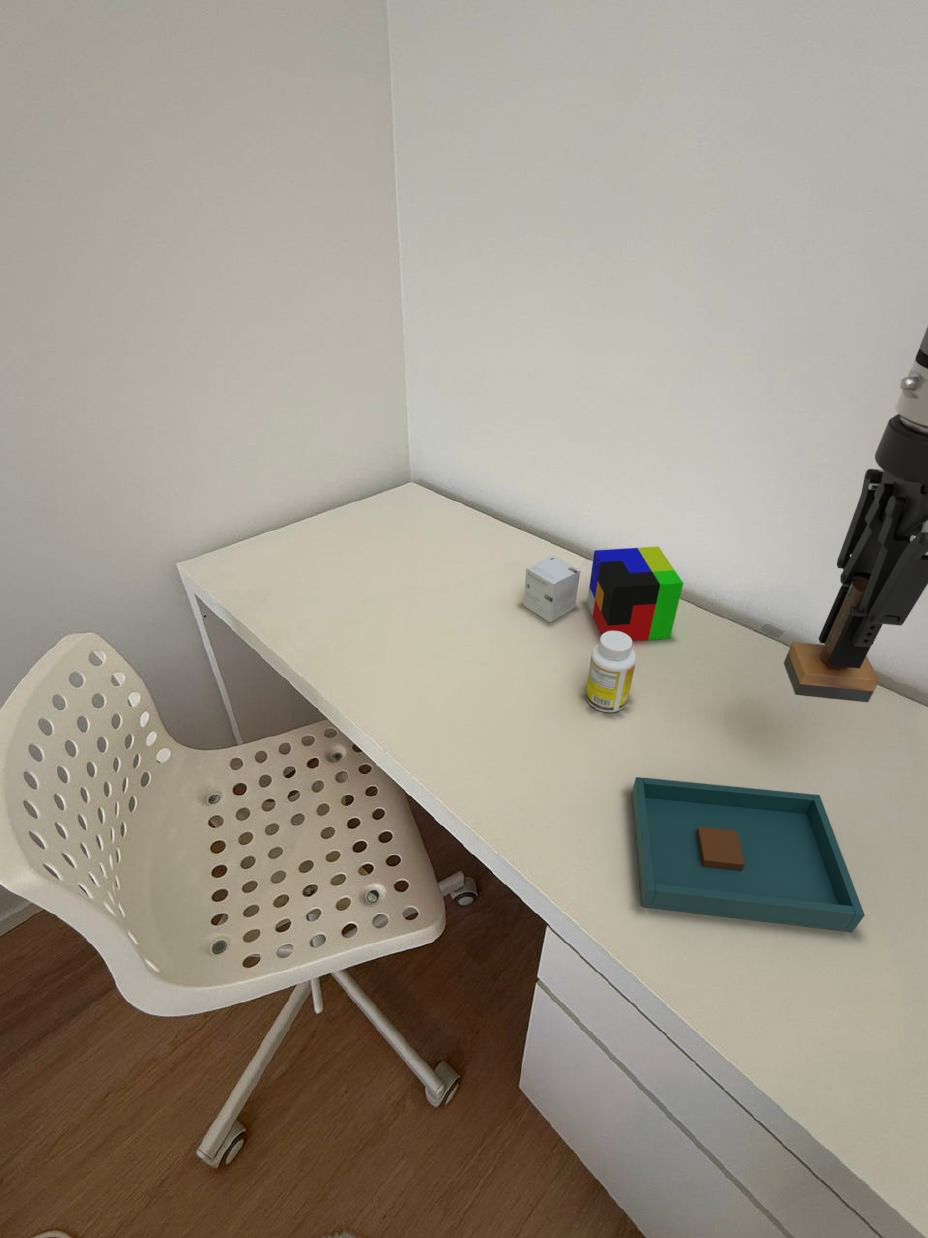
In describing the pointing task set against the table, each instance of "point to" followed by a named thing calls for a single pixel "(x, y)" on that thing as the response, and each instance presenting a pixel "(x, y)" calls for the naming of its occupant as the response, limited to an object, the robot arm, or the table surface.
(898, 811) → the table surface
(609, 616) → the puzzle toy
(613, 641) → the supplement bottle
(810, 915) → the tray
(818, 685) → the wooden rubber stamp
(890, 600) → the robot arm
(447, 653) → the table surface
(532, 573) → the white cardboard box
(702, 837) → the brown square tile
